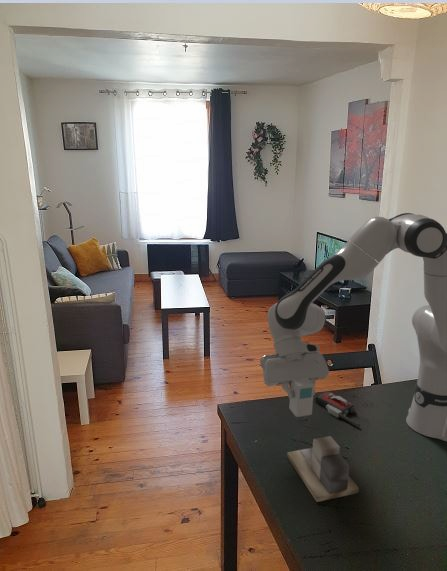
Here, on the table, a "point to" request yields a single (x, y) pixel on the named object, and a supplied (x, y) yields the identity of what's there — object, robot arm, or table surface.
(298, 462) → the rail board
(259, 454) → the table surface
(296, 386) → the block
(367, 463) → the table surface
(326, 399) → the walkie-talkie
